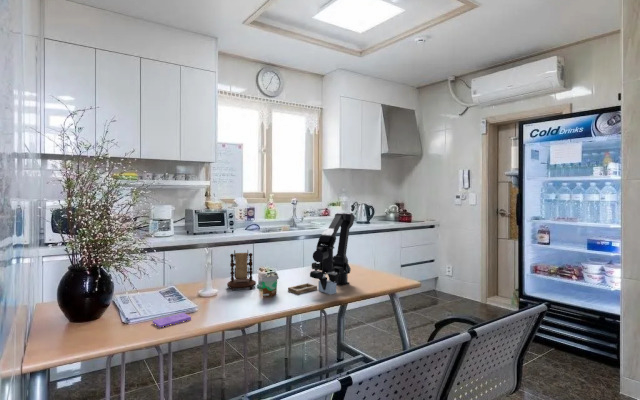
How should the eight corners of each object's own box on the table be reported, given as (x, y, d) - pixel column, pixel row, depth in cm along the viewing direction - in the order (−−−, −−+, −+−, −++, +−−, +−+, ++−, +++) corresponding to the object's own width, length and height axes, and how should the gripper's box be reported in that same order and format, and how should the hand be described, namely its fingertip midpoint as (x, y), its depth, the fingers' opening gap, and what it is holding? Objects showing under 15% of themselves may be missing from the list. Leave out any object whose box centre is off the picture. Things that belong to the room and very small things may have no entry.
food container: (274, 298, 176) (273, 278, 175) (261, 298, 177) (261, 277, 177) (281, 291, 188) (281, 271, 188) (270, 290, 189) (270, 271, 189)
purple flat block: (191, 321, 149) (191, 316, 148) (159, 329, 140) (159, 324, 140) (183, 316, 154) (183, 312, 153) (152, 324, 145) (152, 320, 145)
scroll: (226, 292, 186) (226, 252, 185) (227, 284, 201) (227, 247, 200) (256, 290, 189) (256, 251, 188) (255, 283, 204) (255, 247, 203)
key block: (324, 289, 192) (324, 278, 192) (336, 292, 186) (336, 281, 185) (318, 290, 190) (318, 279, 190) (330, 294, 183) (330, 282, 183)
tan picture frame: (307, 286, 197) (307, 283, 197) (317, 289, 192) (316, 286, 191) (288, 291, 189) (288, 287, 189) (297, 294, 183) (297, 290, 183)
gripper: (330, 254, 199) (329, 282, 200) (302, 258, 187) (302, 289, 188) (344, 257, 191) (344, 287, 192) (317, 262, 179) (317, 294, 179)
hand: (327, 289), depth 188 cm, fingers closed on key block, 4 cm apart
